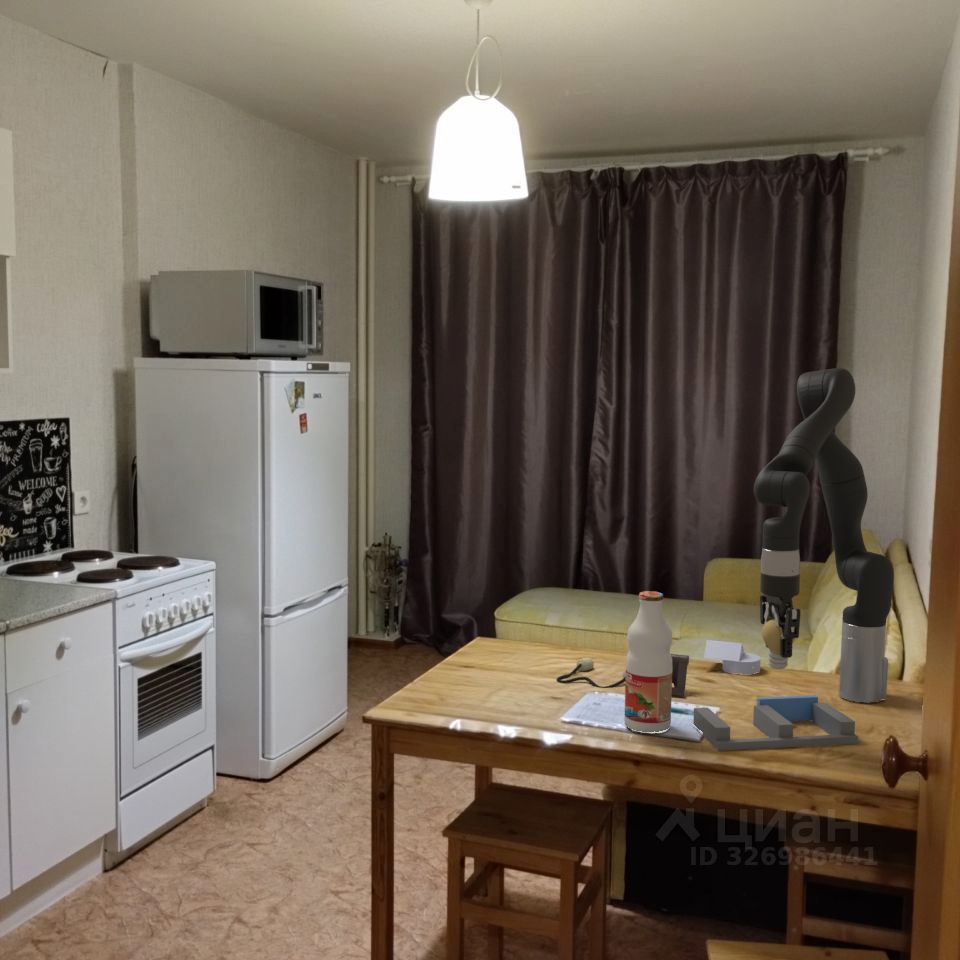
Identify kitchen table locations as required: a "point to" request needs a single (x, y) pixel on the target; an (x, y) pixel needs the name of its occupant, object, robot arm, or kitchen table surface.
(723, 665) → the wedge on round base
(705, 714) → the gray e-shaped frame
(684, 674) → the portable electronic device stand
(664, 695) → the fruit juice
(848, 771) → the kitchen table surface
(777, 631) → the light bulb
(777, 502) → the robot arm
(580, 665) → the cable
